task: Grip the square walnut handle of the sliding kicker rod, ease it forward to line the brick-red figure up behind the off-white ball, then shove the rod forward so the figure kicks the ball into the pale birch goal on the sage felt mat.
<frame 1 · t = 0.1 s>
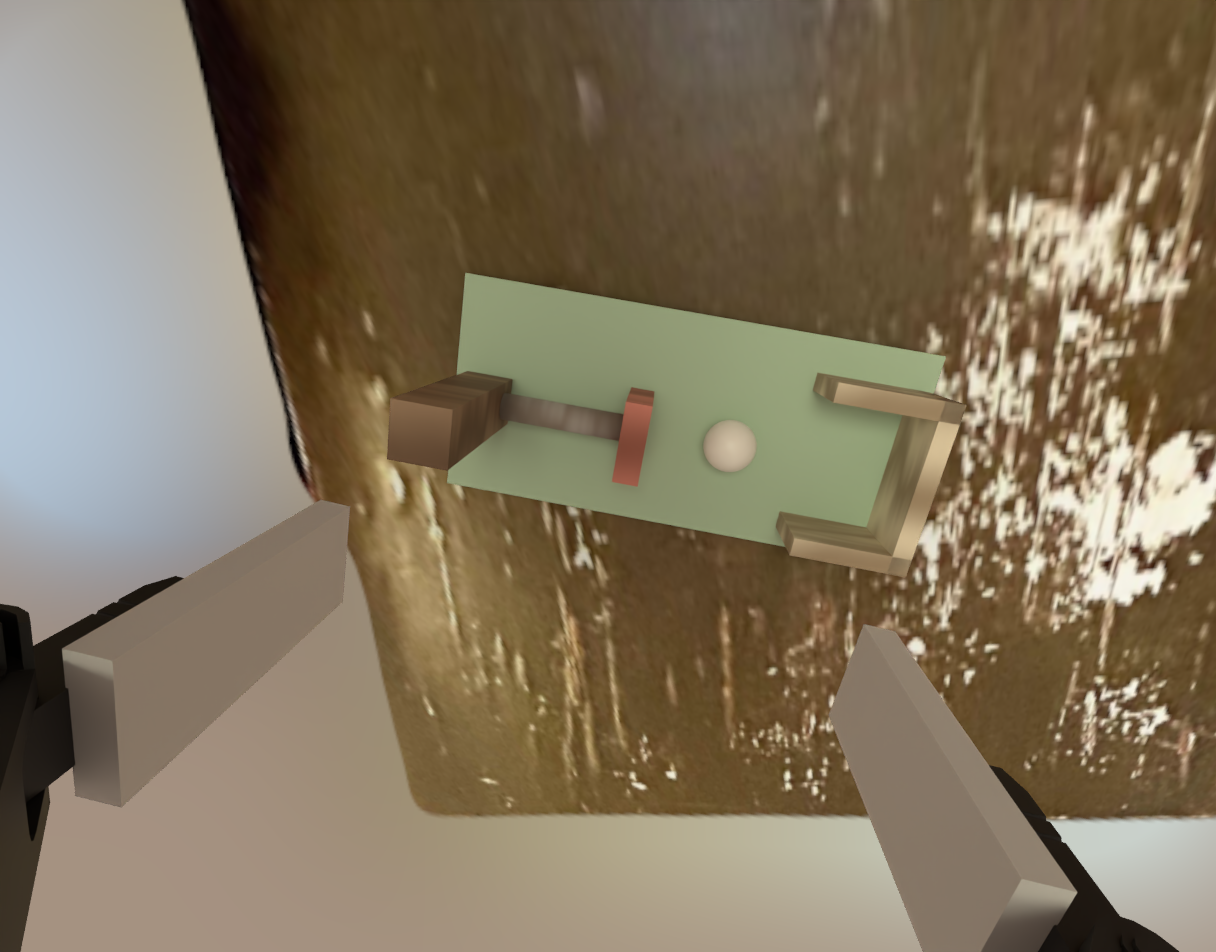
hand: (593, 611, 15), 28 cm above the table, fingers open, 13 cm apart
kicker: (538, 427, 35), point 7 cm above the table, slide at 0.0 cm
ball: (729, 446, 39), point 2 cm above the table, touching mat
goal: (847, 460, 41), resting on mat
mat: (678, 423, 41), on the table
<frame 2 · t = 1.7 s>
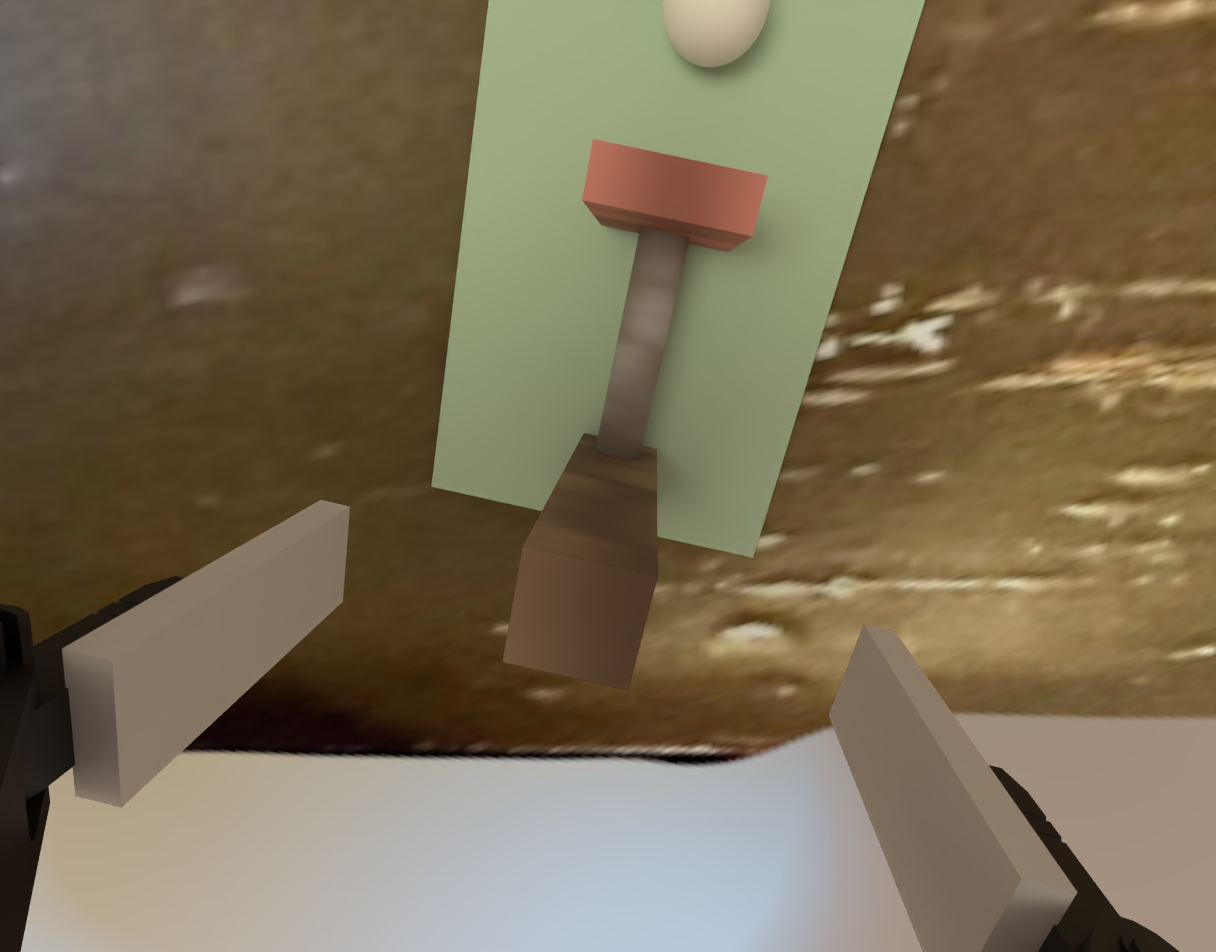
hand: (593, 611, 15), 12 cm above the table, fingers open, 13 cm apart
kicker: (630, 385, 18), point 7 cm above the table, slide at 0.0 cm
ball: (715, 1, 19), point 2 cm above the table, touching mat
mat: (673, 135, 22), on the table
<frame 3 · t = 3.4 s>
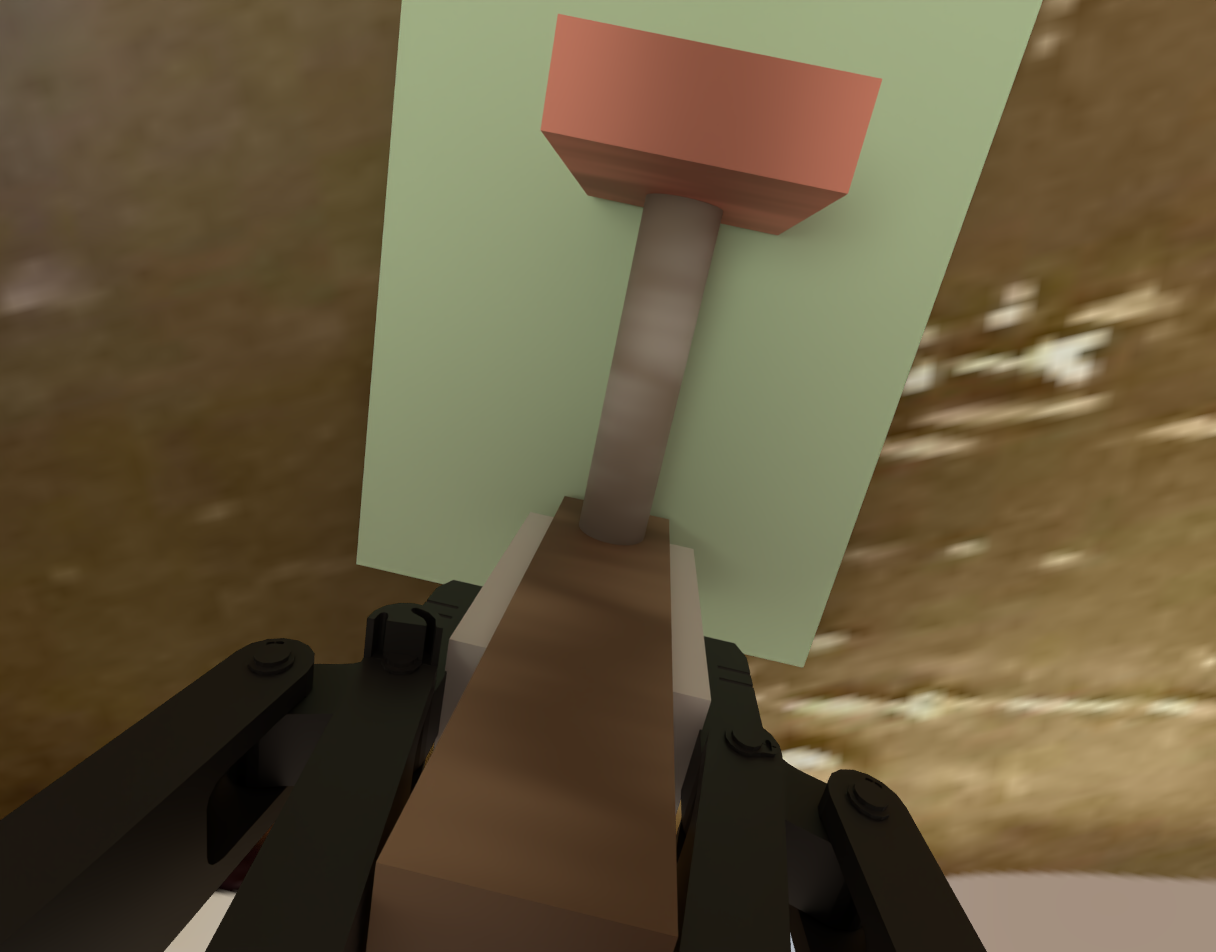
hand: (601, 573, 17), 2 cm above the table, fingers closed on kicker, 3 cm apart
kicker: (628, 452, 11), point 7 cm above the table, slide at 0.0 cm, touching gripper
mat: (696, 59, 15), on the table
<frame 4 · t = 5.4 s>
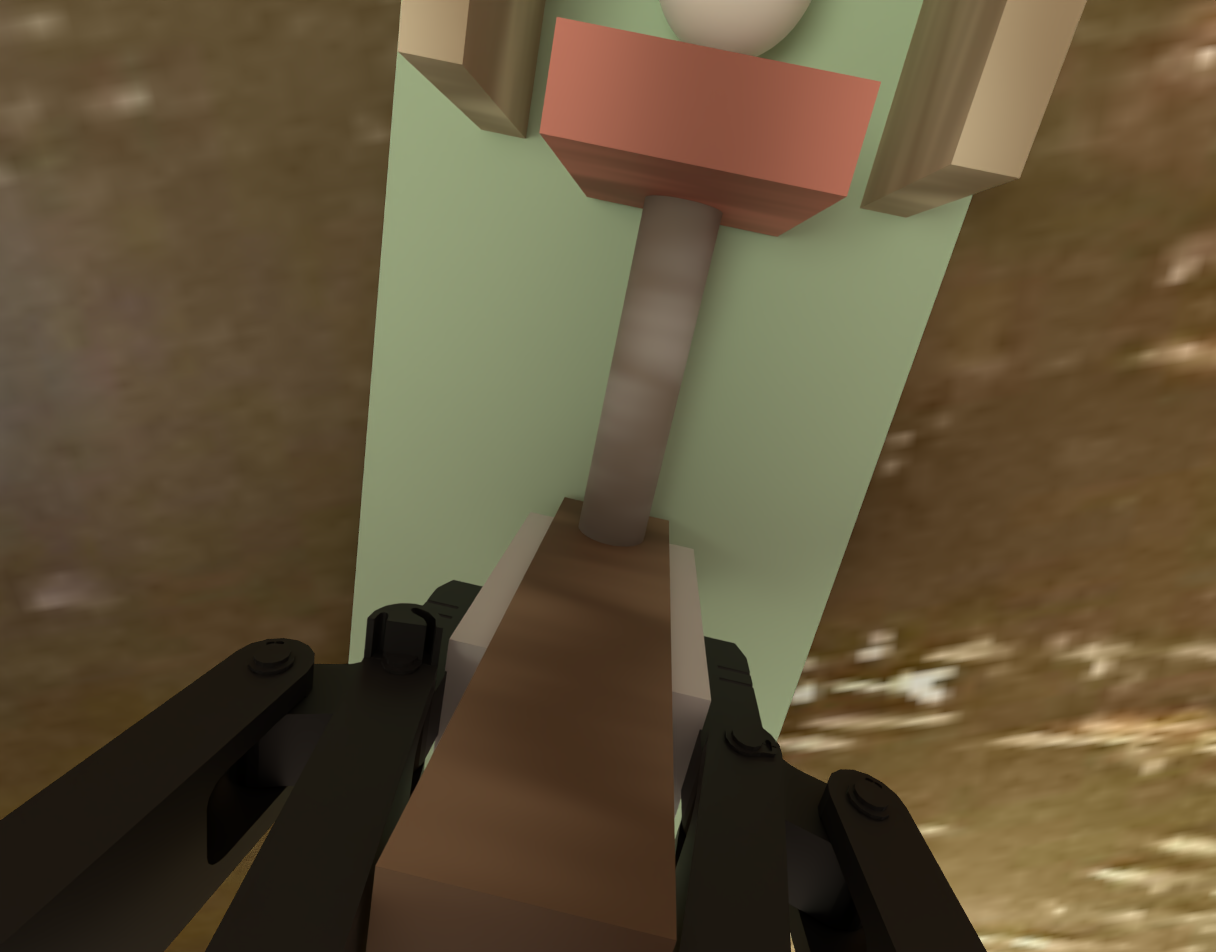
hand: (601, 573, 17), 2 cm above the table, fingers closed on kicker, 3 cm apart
kicker: (627, 454, 11), point 7 cm above the table, slide at 10.9 cm, touching gripper
goal: (727, 12, 14), resting on mat
mat: (609, 466, 18), on the table
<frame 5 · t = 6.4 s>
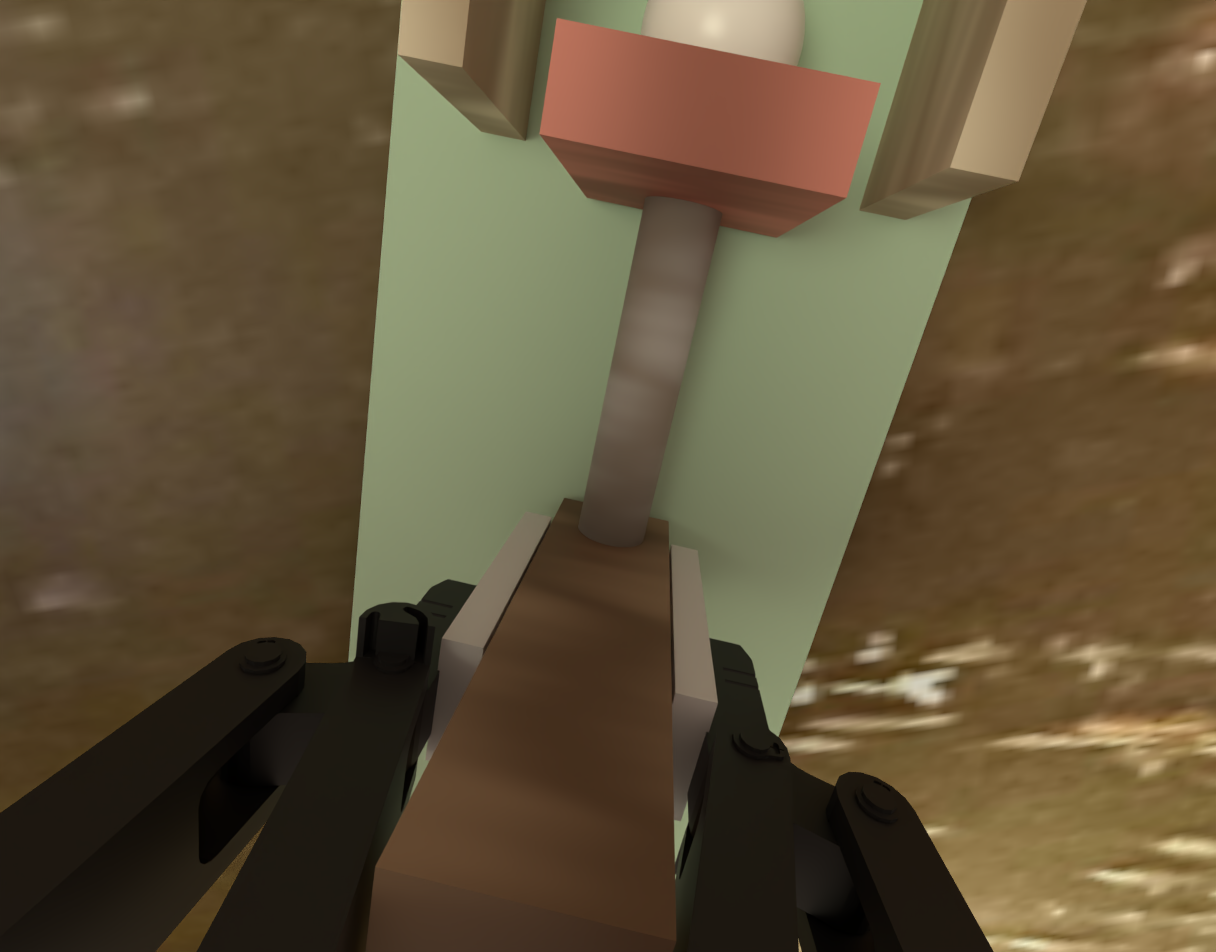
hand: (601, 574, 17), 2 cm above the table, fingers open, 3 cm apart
kicker: (627, 455, 11), point 7 cm above the table, slide at 10.9 cm
ball: (720, 40, 13), point 2 cm above the table, tilted 137°, touching mat
goal: (726, 15, 14), resting on mat
mat: (608, 467, 18), on the table
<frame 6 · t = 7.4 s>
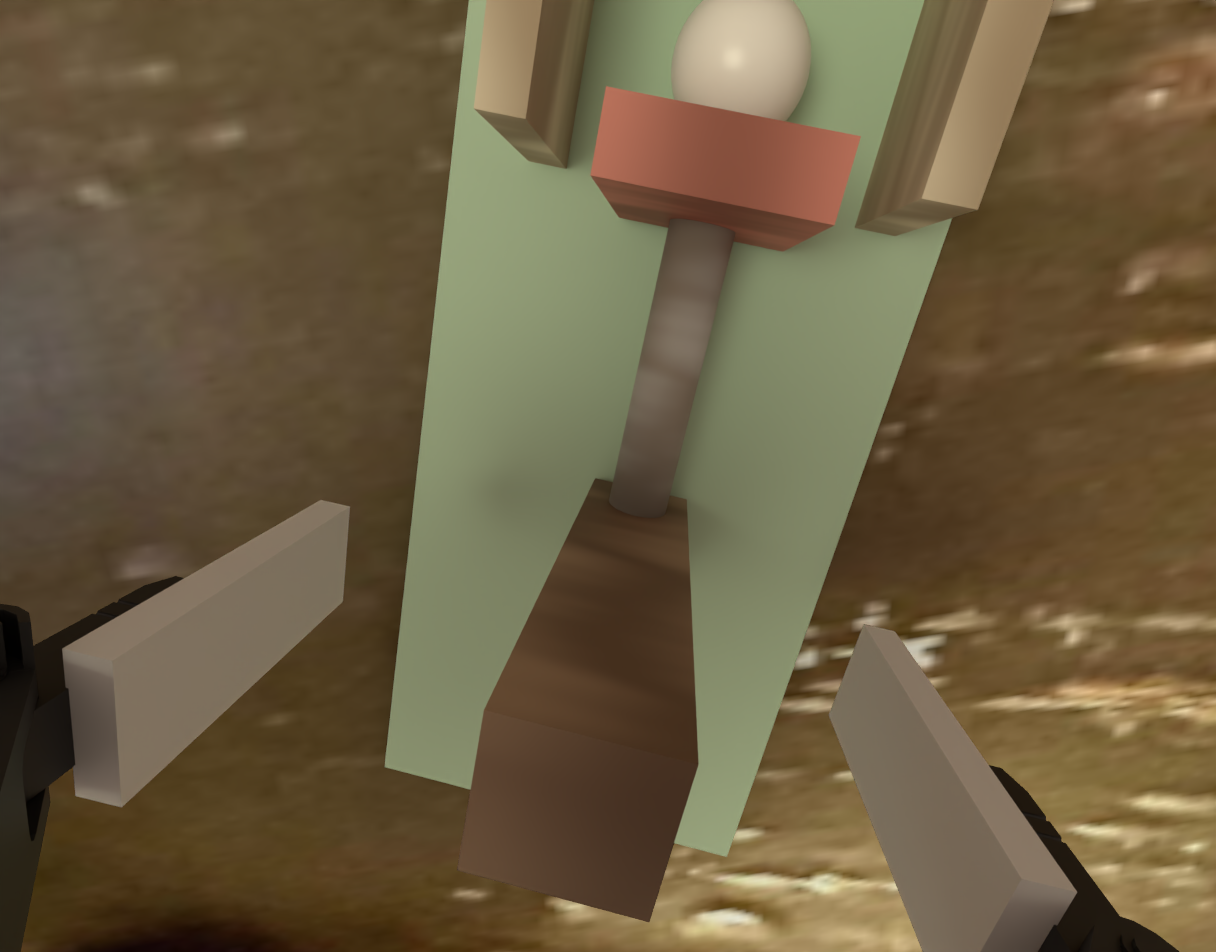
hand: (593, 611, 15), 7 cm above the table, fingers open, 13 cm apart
kicker: (656, 432, 13), point 7 cm above the table, slide at 10.9 cm
ball: (739, 69, 15), point 2 cm above the table, tilted 123°, touching mat
goal: (740, 62, 17), resting on mat
mat: (634, 452, 20), on the table
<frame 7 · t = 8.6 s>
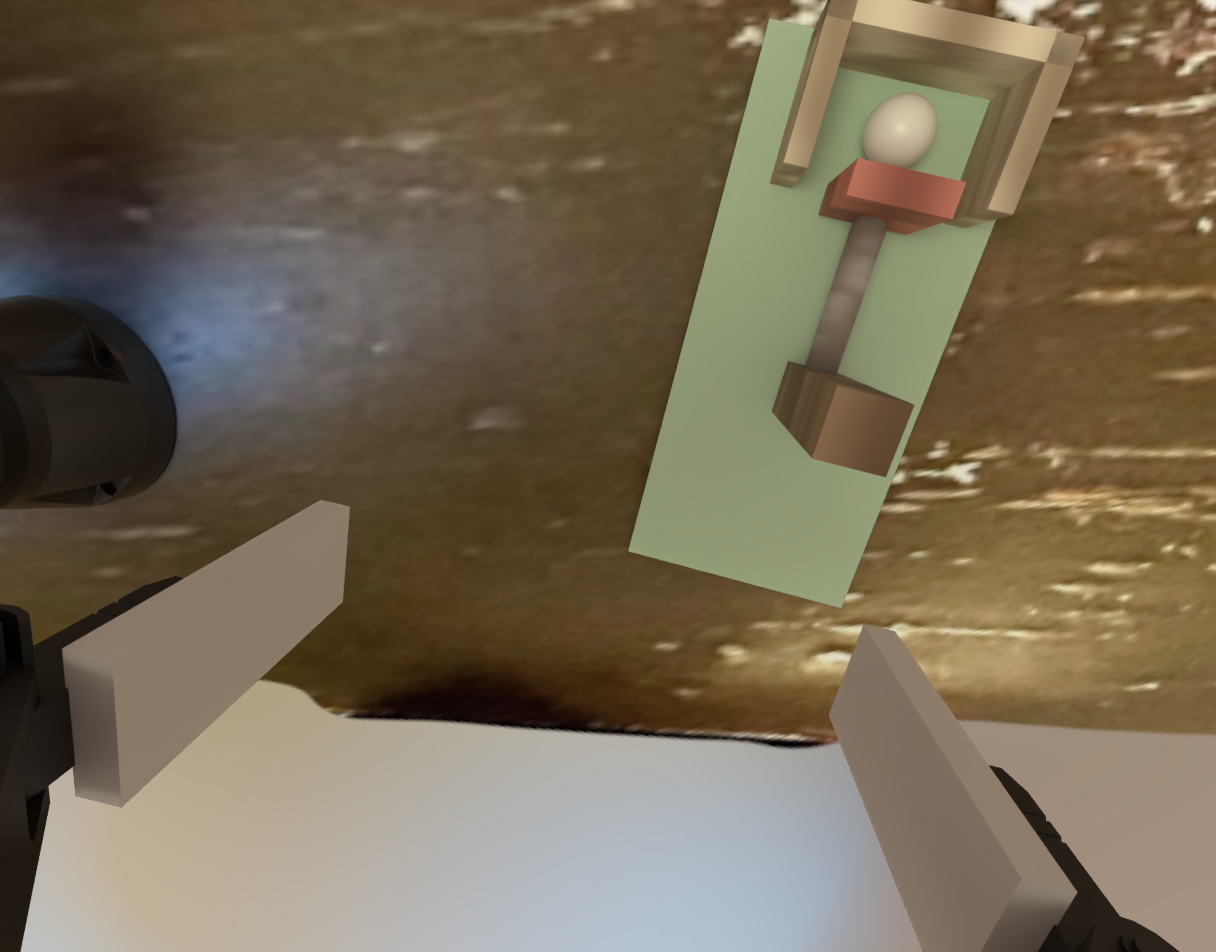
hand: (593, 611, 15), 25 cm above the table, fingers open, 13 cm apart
kicker: (861, 313, 29), point 7 cm above the table, slide at 10.9 cm
ball: (898, 132, 30), point 2 cm above the table, tilted 106°, touching mat
goal: (888, 135, 32), resting on mat
mat: (808, 348, 36), on the table
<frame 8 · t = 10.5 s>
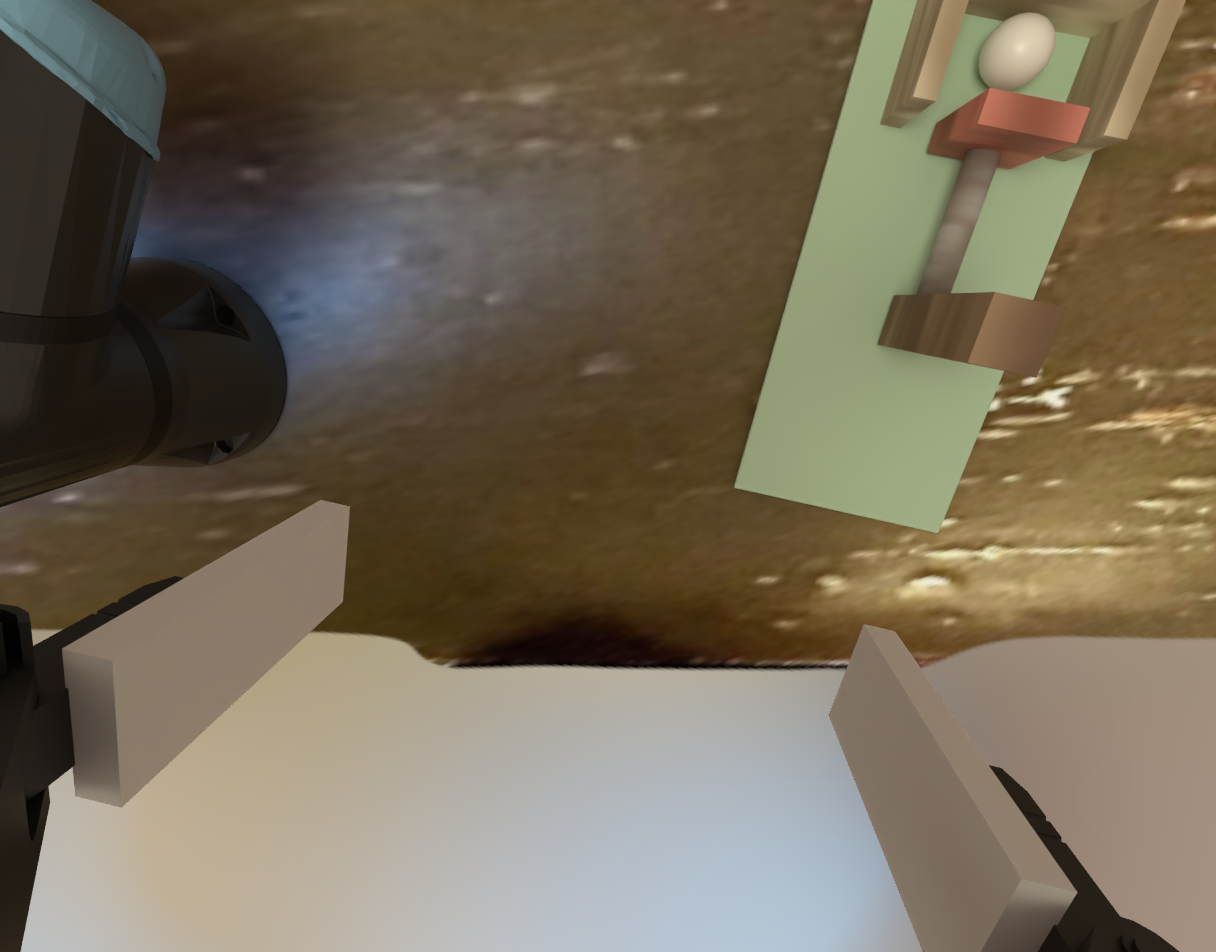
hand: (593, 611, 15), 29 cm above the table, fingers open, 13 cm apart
kicker: (988, 236, 31), point 7 cm above the table, slide at 10.9 cm
ball: (1015, 52, 32), point 2 cm above the table, tilted 80°, touching mat
goal: (992, 75, 34), resting on mat
mat: (911, 283, 38), on the table
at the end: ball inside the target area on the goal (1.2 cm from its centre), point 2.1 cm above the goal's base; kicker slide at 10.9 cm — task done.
